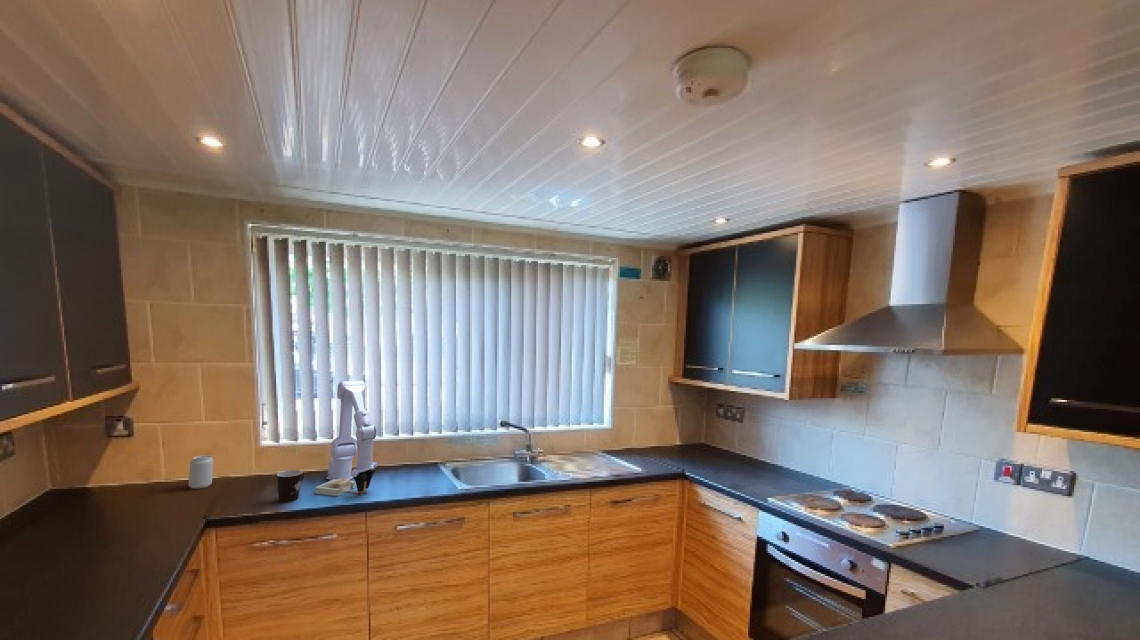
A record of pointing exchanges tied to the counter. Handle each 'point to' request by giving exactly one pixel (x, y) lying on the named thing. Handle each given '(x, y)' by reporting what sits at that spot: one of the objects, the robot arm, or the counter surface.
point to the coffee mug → (289, 485)
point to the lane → (330, 489)
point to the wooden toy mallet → (345, 486)
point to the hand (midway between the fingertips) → (363, 489)
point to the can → (201, 472)
